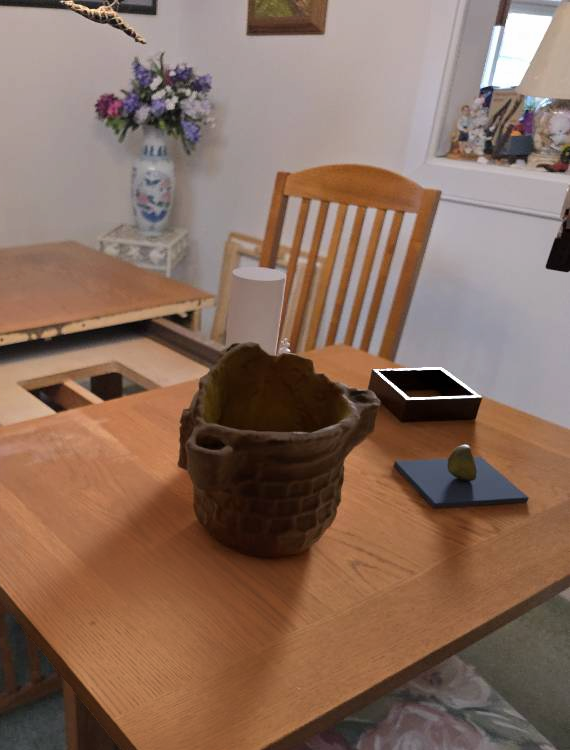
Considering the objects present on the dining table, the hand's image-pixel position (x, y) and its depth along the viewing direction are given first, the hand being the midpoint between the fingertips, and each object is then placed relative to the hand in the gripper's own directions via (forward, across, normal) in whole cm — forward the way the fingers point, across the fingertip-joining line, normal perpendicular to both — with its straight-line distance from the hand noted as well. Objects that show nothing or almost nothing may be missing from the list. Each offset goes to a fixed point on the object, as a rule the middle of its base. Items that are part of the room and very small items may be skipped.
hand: (563, 264), depth 100 cm
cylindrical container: (+26, -32, +32) cm, 52 cm away
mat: (+26, -23, +1) cm, 35 cm away
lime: (+26, -23, +1) cm, 34 cm away
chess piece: (+26, -11, +36) cm, 46 cm away
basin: (+26, +2, +15) cm, 30 cm away
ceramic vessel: (+26, -52, +18) cm, 61 cm away
